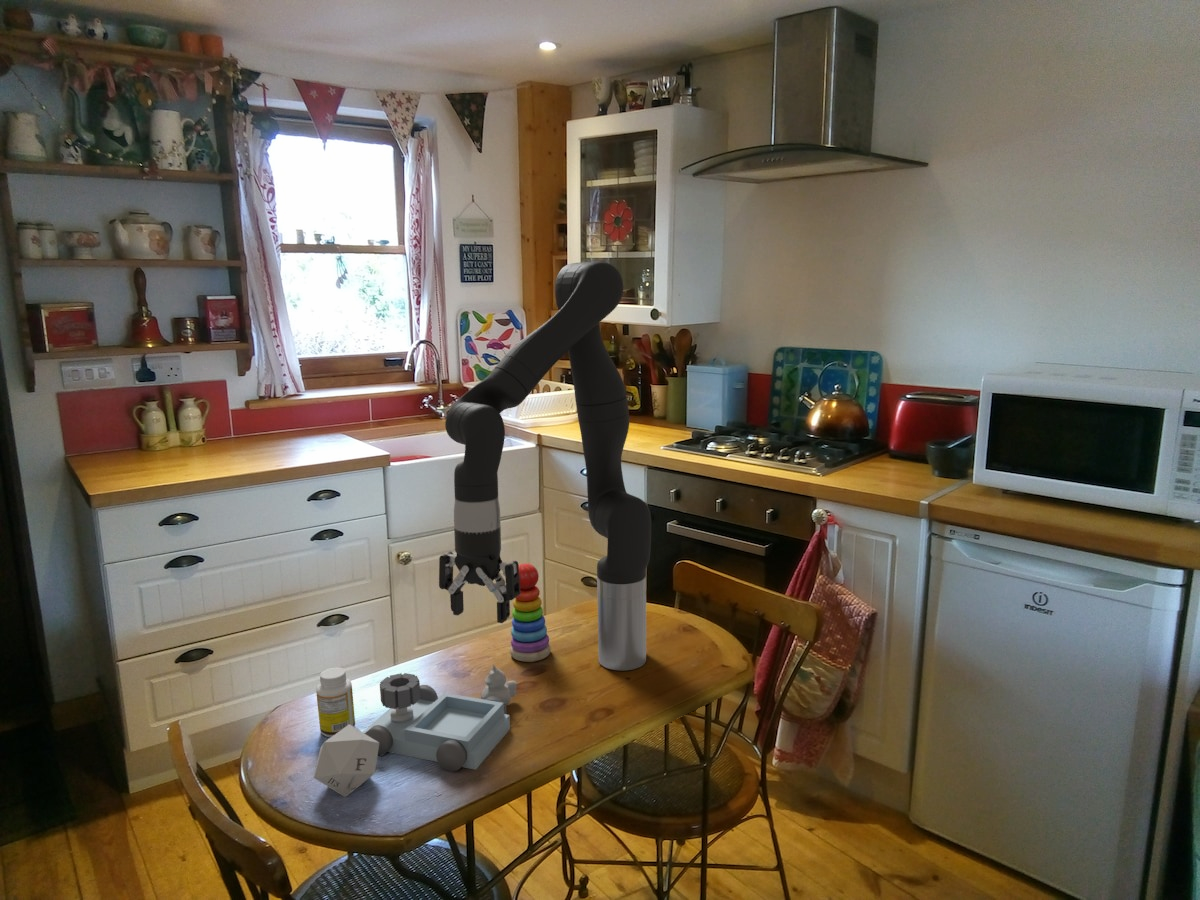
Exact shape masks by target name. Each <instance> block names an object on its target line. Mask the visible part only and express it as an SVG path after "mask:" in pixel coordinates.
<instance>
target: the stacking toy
mask: <svg viewBox="0 0 1200 900" xmlns="http://www.w3.org/2000/svg"><path fill="white" fill-rule="evenodd" d="M518 565H519V579H520V592H521V593H520V595H519V596H517V597H516V598H514V599H513V602H512V605H513V609H512V612H511V613H512V617H513V618H512V621H511V623H512V624H511V625H512V627H511V630H510V634H511V638H510V639H511V640H510V645H511V646H510V647H509V648H510V649H509V652H510V655H511V658H513V659H515V660H517V661H519V662H525V663H532V662H538V661H542V660H544V659H545V658H547V657H548V656H549V655H550V653H551V649H552V648H551V644H550V637H549V635H548V628H547V626H546V618H545V615H543V613H544V610H543V607H542V604H543V603H542V599H541V597H540V594H541V593H540V592H541V591H540V588H539V587H538V586H536V585H537V584H538V581H539V571H538V569H537V568H536V567H535V566H534V565H533V564H530V563H520V564H518Z"/></svg>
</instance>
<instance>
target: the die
mask: <svg viewBox="0 0 1200 900" xmlns="http://www.w3.org/2000/svg"><path fill="white" fill-rule="evenodd" d="M378 749H379V742H377V741H376V740H374V739H372V738H371V737H369V736H368V735H366V734H364V733H363V731H361V730H359V729H358V728H356V727H353V726H351V725H350V724H349V725H347V726H346V727H345V728H343V729H342V730H340V731H339V732H338V733H336V734H335V735H334V736H332V737H328V739H327V740H325V741H324V742H323V743H322V745H321V746H320V748H319V753H318V758H317V762H316V766H315V771H314V775H313V779H315V780H316V781H318V782H320V783H322V784H323V785H324V786H327V787H328V788H329V789H331V790H333V791H335V793H338V794H339V795H341V796H343V797H344V798H346V797H347V796H349V795H350V794H351V793H353V791H355V790H357V788H358V787H360V786H362V784H364V783H365V782H366V781H368V780H369V779H370V778H371V777H372V776H373V775H375V774H376V769H377V767H376V766H377V761H378V757H379V756H378Z"/></svg>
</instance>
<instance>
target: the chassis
mask: <svg viewBox="0 0 1200 900" xmlns="http://www.w3.org/2000/svg"><path fill="white" fill-rule="evenodd" d="M420 697H421V698H420V700H419V701H417V702H416V703H415V704H414V705H411V706H410V707H405V708H401V709H399V708H398V707H397V708H396V709H392V708H388V709H387V710H386V711H385V712H384V713H383V714H382V715H380V716H379V717H378V718H377V719H376V720H375V721H373V722H372V723H371V724H370V725H368V726H367V727H366V728H365V729H364V730H363V731H362V732H363V733H364V734H366V735H368V736H369V737H371V738H372V739H374V740H376V741H377V742H379V749H378V756H377V757H382V756H384V755H385V754H386V753H392V754H396V755H401V756H406V757H410V758H411V757H412V758H415V759H421V760H427V761H431V762H437V763H438V764H439V766H440V767H441V768H442V769H443V770H444V771H448V772H450V773H451V772H453V773H455V772H458V771H459V770H460V769H461V768H466V769H468V770H469V769H470V770H474V771H476V770H477V769H478V768H479V766H480V765H481V764H482V763H483V762H484V761H485V759H486V758H487V757H488V756H489V755H490V754H491V752H492V751H493V750H494V749H495V748H496V746H497V745H498V744H499V743H500V742H501V740H502V739H503V738H504V737H505V736H506V735H507V733H508V732H509V731H510V730H511V722H510V721H511V720H510V719H511V717H510V714H507V713H508V711H507V710H508V709H507V706H505V704H504V702H503V701H502V700H501V699H499V698H498V697H494V696H490V697H488V698H486V699H485V700H484V699H481V698H477V697H471V696H466V695H459V694H455V693H454V694H453V693H447V692H444V693H442V694H441V695H440V696H438V694H437V692H436V690H435V689H434V688H433V687H432V686H430V685H428V684H421V685H420Z"/></svg>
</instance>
